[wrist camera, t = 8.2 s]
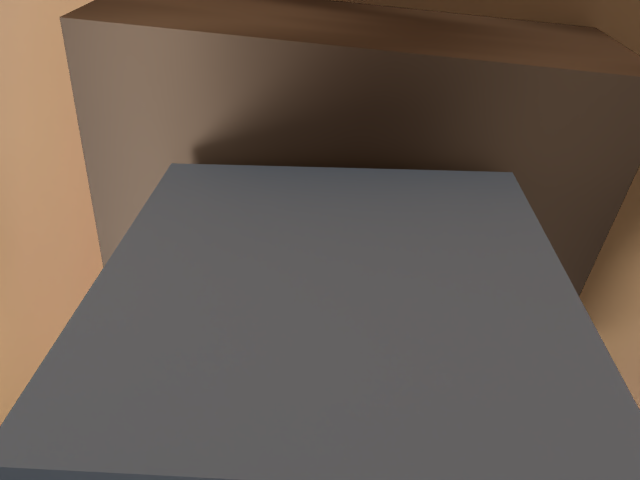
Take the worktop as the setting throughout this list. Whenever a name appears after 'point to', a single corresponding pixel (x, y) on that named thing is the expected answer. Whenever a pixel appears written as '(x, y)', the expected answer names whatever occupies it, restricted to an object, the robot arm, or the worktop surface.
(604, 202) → the walnut block
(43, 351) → the worktop surface
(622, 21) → the worktop surface
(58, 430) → the slate-blue cube
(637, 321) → the worktop surface
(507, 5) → the worktop surface
